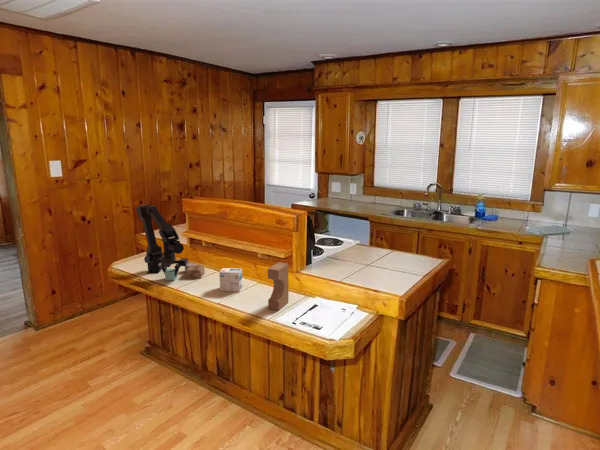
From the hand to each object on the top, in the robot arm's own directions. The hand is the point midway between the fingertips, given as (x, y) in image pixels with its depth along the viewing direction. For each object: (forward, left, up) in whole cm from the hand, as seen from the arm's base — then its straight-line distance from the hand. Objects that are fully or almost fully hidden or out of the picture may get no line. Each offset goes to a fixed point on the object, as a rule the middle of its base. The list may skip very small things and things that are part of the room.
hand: (171, 276), depth 223 cm
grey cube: (+7, +12, -2) cm, 14 cm away
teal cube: (0, 0, -1) cm, 1 cm away
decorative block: (+62, -32, -2) cm, 70 cm away
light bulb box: (+36, -13, -2) cm, 38 cm away
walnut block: (+12, +6, -2) cm, 14 cm away
